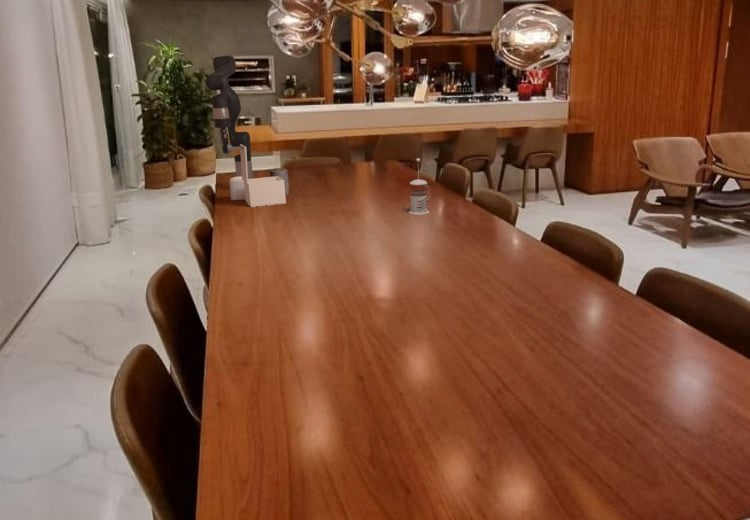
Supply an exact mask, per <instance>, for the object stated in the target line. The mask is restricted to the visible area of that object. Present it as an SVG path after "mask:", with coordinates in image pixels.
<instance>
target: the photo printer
mask: <svg viewBox="0 0 750 520" xmlns="http://www.w3.org/2000/svg"><path fill="white" fill-rule="evenodd" d="M229 193H230V200H231V201H243V200H245V201H246V198H245V188H244V181H243V180H242V176H238V177H236V176H234V177H231V178H230V179H229Z"/></svg>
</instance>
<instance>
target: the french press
mask: <svg viewBox="0 0 750 520" xmlns="http://www.w3.org/2000/svg"><path fill="white" fill-rule="evenodd" d="M415 161H416V162H420V161H421V158H419V157H418V158H416V159H415ZM419 166H420V165H417V177H418V178H417V179H414V180H412V181H410V182H409V184H410V186H417V188H418V190H417V189H416V190H411V191H410V193H411V194H410V196H409V198H410V210H408V214H410V215H415V216H416V215H418V216H419V215H428V214H429V213H430V211H429V209H428V200H429V199H430V197H431V194H429V190H431V188H430V186H429V185H428V182H427V181H426V180H424V179H420V175H419V174H420V173H419V169H420V168H419ZM420 186H422V187H423V188H424V189H427V191H426V190H424V189H420ZM428 195H429V196H428Z"/></svg>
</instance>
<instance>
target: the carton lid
mask: <svg viewBox="0 0 750 520" xmlns="http://www.w3.org/2000/svg"><path fill="white" fill-rule="evenodd" d="M233 150H240V151H239V154H241V170H242V180H243V181H244V182H246V183H247V184H248V171H247V153H246V147H245V146H243V145H242V144H240V147H232V146H231V145H230V144H229V143H228V153H227V154H229V153H232V152H233Z"/></svg>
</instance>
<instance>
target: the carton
mask: <svg viewBox="0 0 750 520" xmlns="http://www.w3.org/2000/svg"><path fill="white" fill-rule="evenodd" d="M244 188H245V198H246V200H245V203H246V202H247V203H246V205H248V206H249V207H250V208H257V207H256V206H258V207H265V205H267V206H273V205H274V206H275V204H276V205H284V204H287V200H286V199H287V198H286V196H285V185H284V180H283V179H282V178H280V177H278V176H275V177H270V176H265V177H257V178H255V177H253V179H248V184H247V183H246V182H244Z"/></svg>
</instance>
